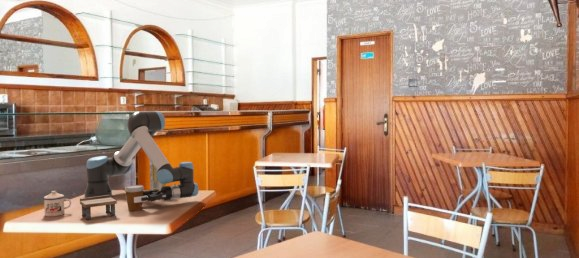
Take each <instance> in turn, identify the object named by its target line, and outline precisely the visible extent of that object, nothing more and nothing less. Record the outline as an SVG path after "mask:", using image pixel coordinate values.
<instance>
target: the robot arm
mask: <svg viewBox="0 0 579 258" xmlns="http://www.w3.org/2000/svg"><path fill="white" fill-rule="evenodd" d="M126 125H127V130H128V133H129V135H130V136H129V138H128V139H127V141H125V143H124V145H123V146H122V147H121V149H120V150H119V151H116V152H115V153H114V154H113V155H112V156H111V157H108V156H107V155H100V156H94V157H93V156H92V157H90V158H89V159H87V160H86V181H87V184H86V187H85V190H84V198H88V197H96V196H104V195H110V196H111V197H112V195H113V191H112V188H111V185H110V182H109V178H110V177H116V176H117V177H118V176H124V175H127V174H129V173H130V172H131V170H132V168H133V160H132V159H133V158H134V157H135V156H136V154H137V153H138V151H140V149H142V150H143V152H144V153H145V155H146V156H147V158H148V159H149V162H150V161H151V162H152V164H153V165H154V167H155V168H156V170H157V171H158V173H157V178H158V179H157V180H158V181H159V182H160V183H161V184H166V186H163V187H162V188H161V191H159V190H148V189H146V190H145V189H144V190H143V196H140V197H134V203H137V202H142V203H144V202H155V201H160V200H162V201H170V200H179V199H185V198H192V197H195V196H198V194H199V189H200V188H199V185H198V183H197V182H195V181H194V178H195V177H194V171H195V170H194V163H193V162H192V161H182V162H180V163H179V165H178V166H177V167H173V166H172V165H171V163H170V162H169V161H168V159H167V158H166V156H165V154H164V153H163V151H162V149H161V148H160V147H159V146H158V144H157V142H155V140H154V138H153V137H154V136H155V134H156V133H157V132H161V131H163V130H164V129H165V128H166V127H165V126H166V118H165V115H163V113H162V112H160V111H157V110H156V111H155V110H153V111H150V110H149V111H135V112H133V113H132V114H130V115H129V117H128V119H127V124H126ZM176 182H179V184H177V183H176ZM170 183H175V184H173V185H167V184H170ZM125 199H126V200H127V198H126V197H125Z"/></svg>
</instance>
